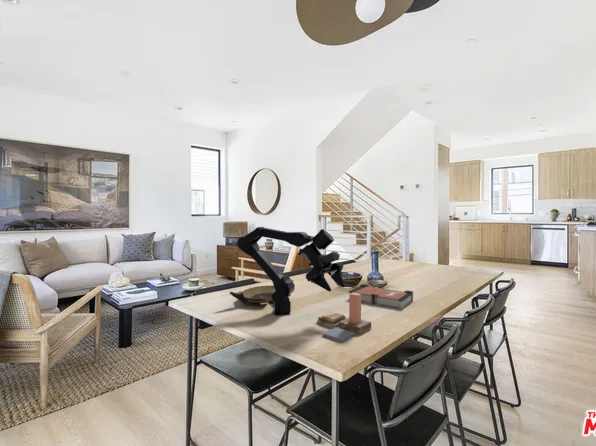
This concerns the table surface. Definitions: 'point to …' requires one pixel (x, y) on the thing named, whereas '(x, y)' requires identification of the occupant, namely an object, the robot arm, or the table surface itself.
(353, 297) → the pink bar
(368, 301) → the book
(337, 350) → the table surface
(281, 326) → the table surface
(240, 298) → the oil lamp
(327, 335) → the grey mat
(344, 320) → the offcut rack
